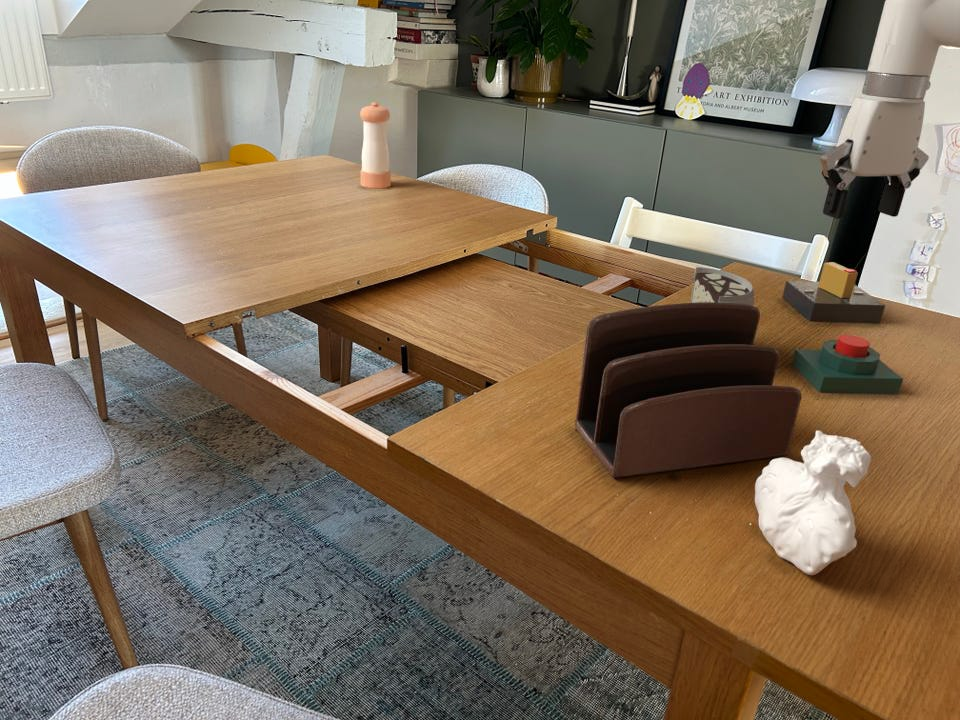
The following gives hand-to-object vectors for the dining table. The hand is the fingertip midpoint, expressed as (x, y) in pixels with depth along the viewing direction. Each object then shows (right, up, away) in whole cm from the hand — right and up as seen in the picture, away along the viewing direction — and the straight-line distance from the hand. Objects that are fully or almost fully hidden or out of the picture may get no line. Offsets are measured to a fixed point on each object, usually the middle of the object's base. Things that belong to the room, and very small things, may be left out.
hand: (859, 215), depth 105 cm
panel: (0, -13, +10) cm, 17 cm away
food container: (-23, -20, -6) cm, 31 cm away
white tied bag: (-27, -37, -42) cm, 62 cm away
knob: (+1, -10, +9) cm, 14 cm away
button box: (-8, -23, -12) cm, 27 cm away
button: (-8, -20, -13) cm, 25 cm away
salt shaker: (-80, +22, +74) cm, 111 cm away
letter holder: (-34, -30, -28) cm, 53 cm away
